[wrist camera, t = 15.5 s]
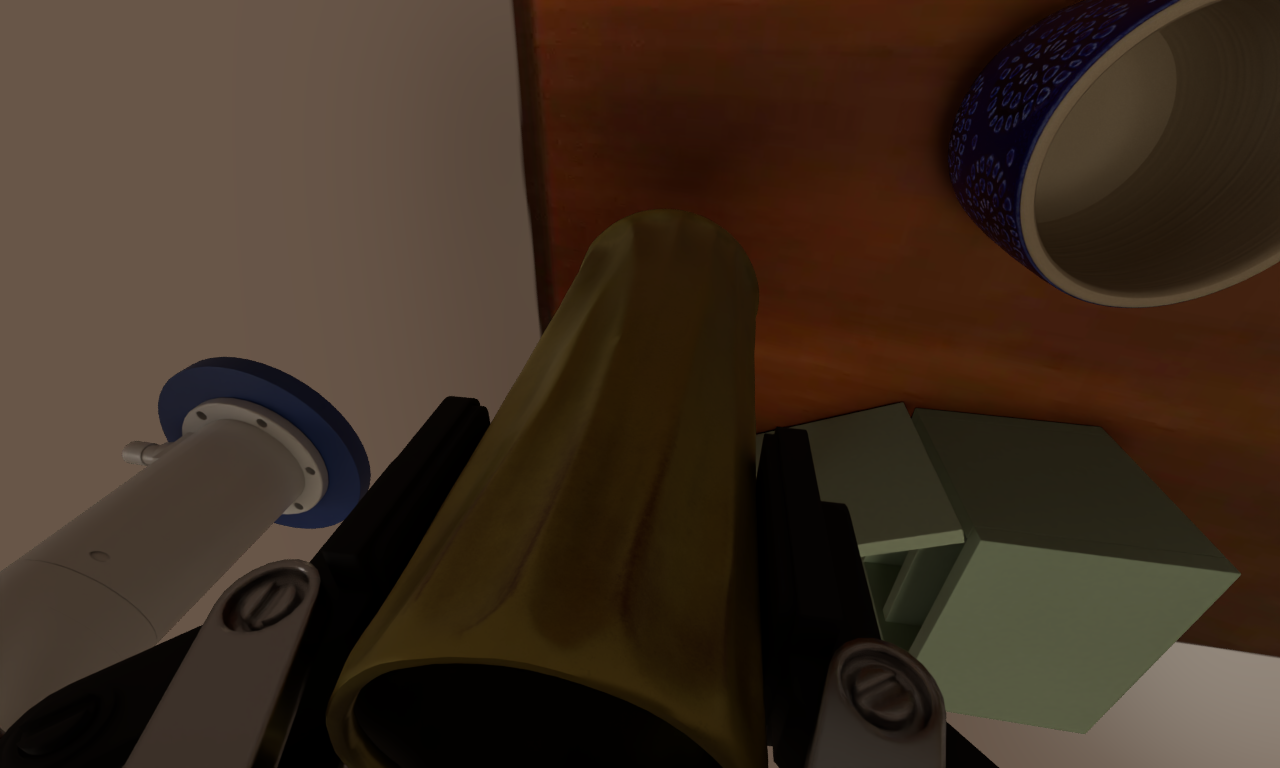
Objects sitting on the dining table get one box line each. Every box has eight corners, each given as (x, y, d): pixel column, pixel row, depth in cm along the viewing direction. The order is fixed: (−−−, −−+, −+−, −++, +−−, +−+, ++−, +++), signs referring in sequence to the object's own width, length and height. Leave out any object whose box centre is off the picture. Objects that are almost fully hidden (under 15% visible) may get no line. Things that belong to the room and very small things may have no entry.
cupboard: (858, 559, 46) (892, 703, 36) (915, 407, 37) (980, 540, 27) (1006, 579, 45) (1085, 734, 35) (1101, 426, 36) (1242, 574, 26)
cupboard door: (657, 386, 39) (631, 499, 30) (887, 324, 34) (948, 436, 24) (690, 459, 43) (676, 582, 33) (905, 413, 37) (965, 542, 28)
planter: (1229, 2, 24) (1542, -24, 15) (1096, 241, 30) (1259, 329, 21) (977, -19, 25) (1122, -56, 16) (897, 216, 31) (967, 291, 22)
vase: (570, 356, 20) (325, 821, 8) (587, 188, 17) (211, 553, 5) (731, 391, 20) (729, 923, 8) (782, 228, 16) (918, 721, 4)
